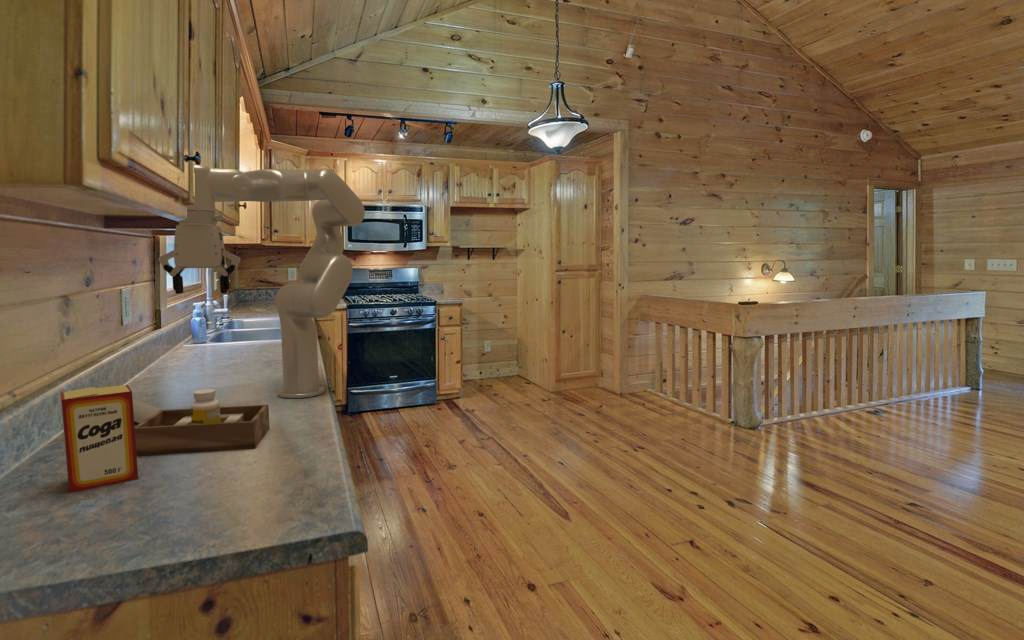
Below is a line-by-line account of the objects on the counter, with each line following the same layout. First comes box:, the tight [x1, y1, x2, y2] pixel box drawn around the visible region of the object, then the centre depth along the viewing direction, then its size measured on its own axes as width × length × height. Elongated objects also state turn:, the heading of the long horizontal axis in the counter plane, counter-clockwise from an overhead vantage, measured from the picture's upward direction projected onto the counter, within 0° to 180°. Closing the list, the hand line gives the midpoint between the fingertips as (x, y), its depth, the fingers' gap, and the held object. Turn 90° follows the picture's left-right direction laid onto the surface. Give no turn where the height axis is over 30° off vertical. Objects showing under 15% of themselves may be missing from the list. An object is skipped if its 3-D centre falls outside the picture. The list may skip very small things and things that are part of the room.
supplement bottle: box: [190, 388, 221, 424], centre depth 118 cm, size 5×5×10 cm
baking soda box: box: [60, 384, 139, 494], centre depth 97 cm, size 10×6×16 cm
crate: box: [134, 404, 270, 457], centre depth 118 cm, size 14×22×6 cm, turn 102°
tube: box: [133, 398, 164, 425], centre depth 133 cm, size 5×5×25 cm
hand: (202, 293), depth 133 cm, fingers open, 9 cm apart
